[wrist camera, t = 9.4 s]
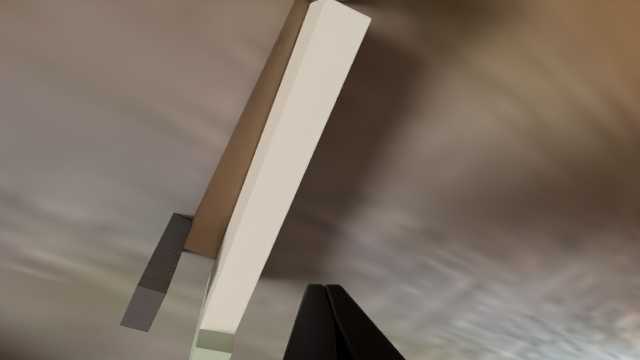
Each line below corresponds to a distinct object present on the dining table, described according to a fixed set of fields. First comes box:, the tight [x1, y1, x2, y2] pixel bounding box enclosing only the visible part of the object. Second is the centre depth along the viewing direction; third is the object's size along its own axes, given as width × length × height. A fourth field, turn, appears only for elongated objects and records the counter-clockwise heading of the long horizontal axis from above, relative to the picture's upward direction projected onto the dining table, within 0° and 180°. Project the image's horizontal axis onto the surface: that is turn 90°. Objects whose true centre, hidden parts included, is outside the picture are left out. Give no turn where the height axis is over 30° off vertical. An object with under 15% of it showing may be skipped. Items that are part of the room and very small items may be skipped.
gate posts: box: [120, 0, 347, 332], centre depth 15 cm, size 19×4×8 cm, turn 151°
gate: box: [189, 0, 371, 360], centre depth 16 cm, size 16×2×6 cm, turn 157°
